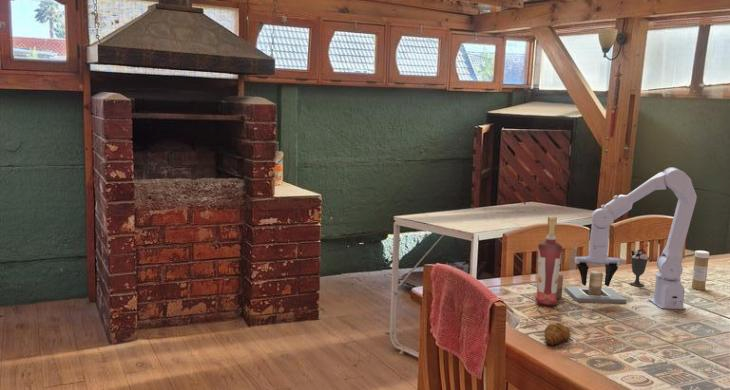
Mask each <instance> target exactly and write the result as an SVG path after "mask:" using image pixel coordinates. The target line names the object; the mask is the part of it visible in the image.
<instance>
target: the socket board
mask: <svg viewBox="0 0 730 390" xmlns="http://www.w3.org/2000/svg"><path fill="white" fill-rule="evenodd" d="M588 290H589V286H588V287H584V286H564V291H565V293H567V294H568V295H569V296H570V297H571V298H572V299H573V300H574V301H576V302H577V303H607V304H610V303H611V304H612V303H613V304H626V303H627V299H626V298H625V297H624V296H622V295H621V294H619V292H618V291H616V290H615V289H613V288H611V287H602V288H601V296H590V295H588Z"/></svg>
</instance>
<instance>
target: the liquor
mask: <svg viewBox="0 0 730 390" xmlns="http://www.w3.org/2000/svg"><path fill="white" fill-rule="evenodd" d="M557 218H558V217H557V216H547V231H546V232H547V233H546V237H545V241H542V242H540V243H539V244H538V245H537V284H536V285H537V287H536V296H535V298H534V299H535V301H536V303H537V304H539V305H541V306H543V307H552V306H554V305H555V304H557V303H558V298H556V295H557V285H558V277H559V274H560V269H561V262H562V253H563V246H562V245H561V244H560V243H559V242H557V241H556V240H557V239H556V237H557V236H556V227H557V221H558V219H557Z"/></svg>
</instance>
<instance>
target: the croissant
mask: <svg viewBox="0 0 730 390" xmlns="http://www.w3.org/2000/svg"><path fill="white" fill-rule="evenodd" d="M570 336H571V331H570V328H569V327H568V326H566V325H564V324H562V323H560V322H553V323H549V324H548V325H547V326H546V327H545V329H544V339H545V343H546V345H547V346H549V347H550V346H551V347H552V346H553V347H554V346H558V345H560V344H561V343H564V342H566V341H567V340H568V338H569V337H570Z"/></svg>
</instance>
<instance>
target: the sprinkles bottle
mask: <svg viewBox="0 0 730 390" xmlns="http://www.w3.org/2000/svg"><path fill="white" fill-rule="evenodd" d="M709 259H710V252H709V251H706V250H701V249H700V250H695V252H694V261H693V262H694V264H693V271H692V277H691V278H692V282H691V288H692V289H693V290H699V291H703V290H705V289H706V282H707V276H708V269H709V268H708V267H709V266H708V265H709Z"/></svg>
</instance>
